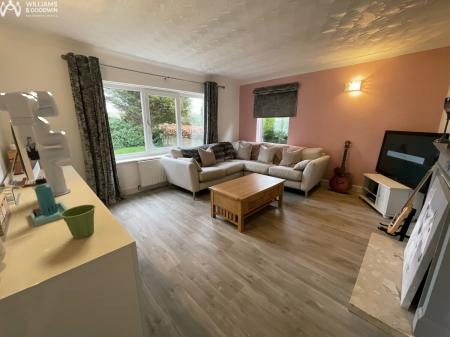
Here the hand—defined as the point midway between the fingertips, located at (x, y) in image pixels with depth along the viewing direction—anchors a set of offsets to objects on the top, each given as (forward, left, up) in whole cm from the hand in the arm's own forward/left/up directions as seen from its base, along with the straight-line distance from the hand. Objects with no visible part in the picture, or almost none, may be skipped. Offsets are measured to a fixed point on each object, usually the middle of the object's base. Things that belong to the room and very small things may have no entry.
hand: (34, 158), depth 91 cm
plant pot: (+34, +6, -31) cm, 46 cm away
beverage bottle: (0, 0, -30) cm, 30 cm away
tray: (-2, 0, -31) cm, 31 cm away
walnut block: (-8, -3, -30) cm, 31 cm away
